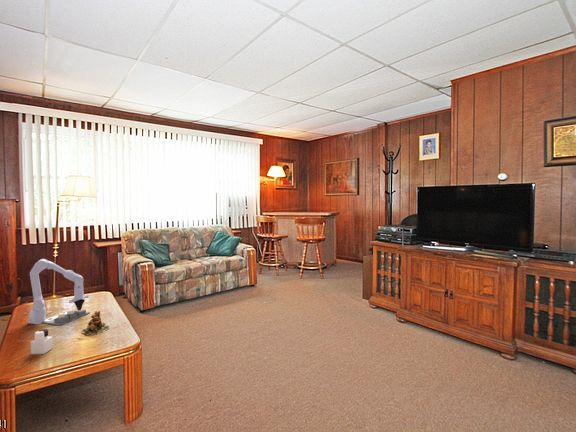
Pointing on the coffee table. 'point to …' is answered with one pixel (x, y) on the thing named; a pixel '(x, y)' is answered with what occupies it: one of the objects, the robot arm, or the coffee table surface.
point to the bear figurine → (95, 325)
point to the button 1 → (61, 315)
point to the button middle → (70, 312)
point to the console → (56, 321)
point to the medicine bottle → (41, 342)
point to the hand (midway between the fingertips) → (79, 309)
